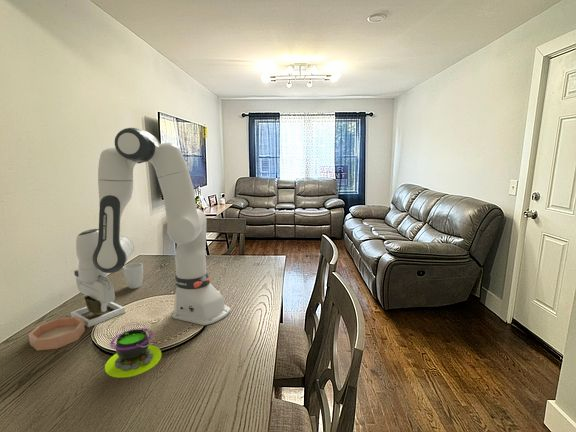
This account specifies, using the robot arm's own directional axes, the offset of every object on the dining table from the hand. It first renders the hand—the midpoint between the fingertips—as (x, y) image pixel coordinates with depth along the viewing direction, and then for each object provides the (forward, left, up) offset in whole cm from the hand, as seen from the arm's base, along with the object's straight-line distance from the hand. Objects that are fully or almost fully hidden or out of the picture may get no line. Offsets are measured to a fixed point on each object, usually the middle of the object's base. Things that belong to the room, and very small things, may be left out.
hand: (97, 308), depth 118 cm
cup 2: (0, 0, -3) cm, 3 cm away
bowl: (-5, +15, -3) cm, 16 cm away
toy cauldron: (-37, +8, -3) cm, 38 cm away
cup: (+14, -23, -3) cm, 27 cm away
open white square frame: (0, 0, -3) cm, 3 cm away
